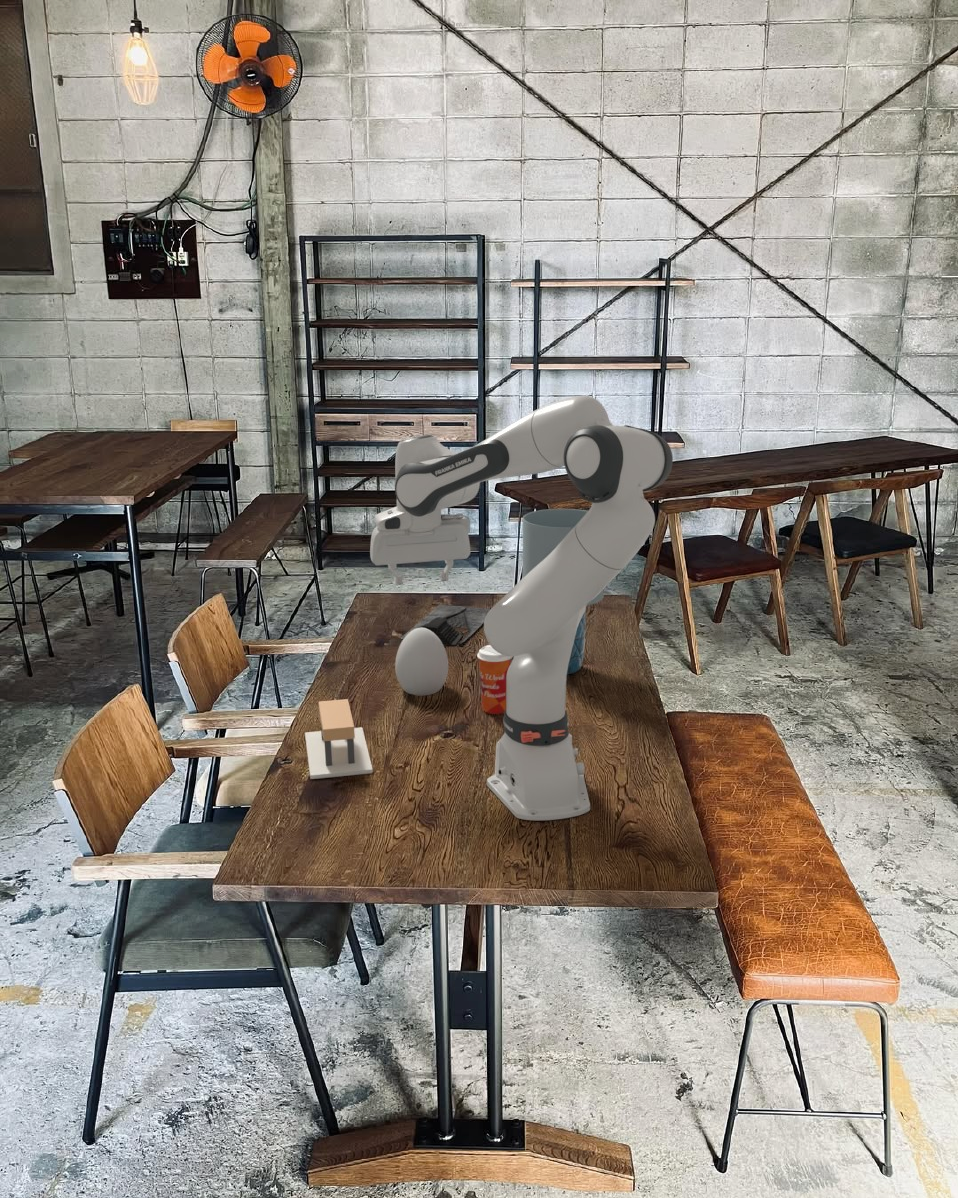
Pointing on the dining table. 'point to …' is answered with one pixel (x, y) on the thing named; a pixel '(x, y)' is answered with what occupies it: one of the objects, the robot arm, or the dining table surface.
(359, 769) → the felt mat
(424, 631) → the decorative egg
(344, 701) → the bench model
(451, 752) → the dining table surface
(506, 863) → the dining table surface
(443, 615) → the architectural model
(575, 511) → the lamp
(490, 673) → the paper cup
